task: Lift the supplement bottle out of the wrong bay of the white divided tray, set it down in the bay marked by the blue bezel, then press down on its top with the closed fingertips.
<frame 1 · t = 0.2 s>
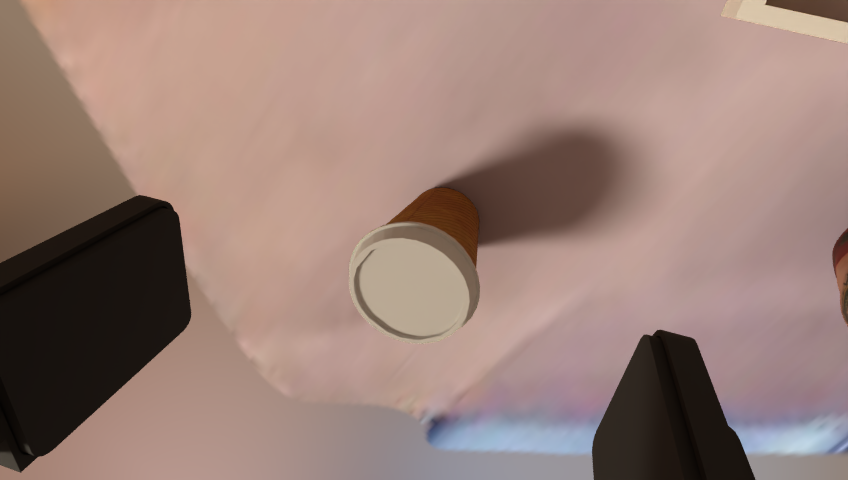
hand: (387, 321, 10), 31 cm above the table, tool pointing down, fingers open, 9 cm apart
disposable coffee cup: (444, 219, 43), on the table
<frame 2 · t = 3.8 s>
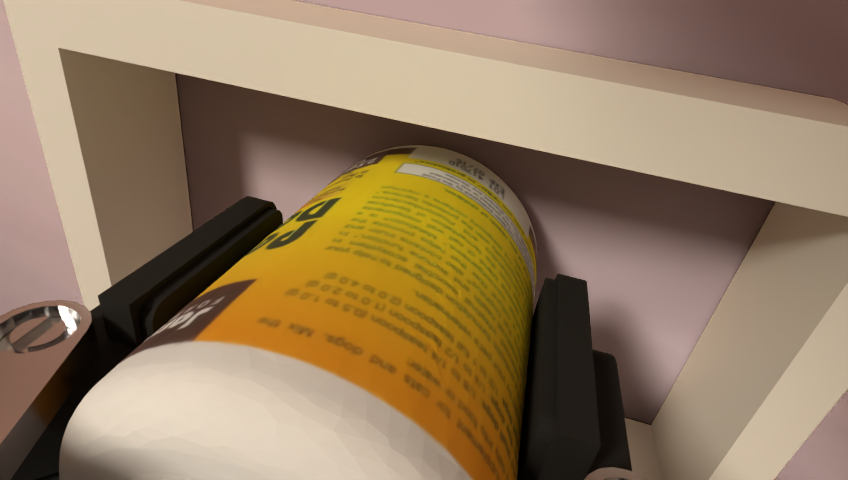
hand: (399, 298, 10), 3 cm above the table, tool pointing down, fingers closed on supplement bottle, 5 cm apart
white divided tray: (406, 370, 15), on the table
supplement bottle: (430, 240, 13), resting in white divided tray, touching gripper
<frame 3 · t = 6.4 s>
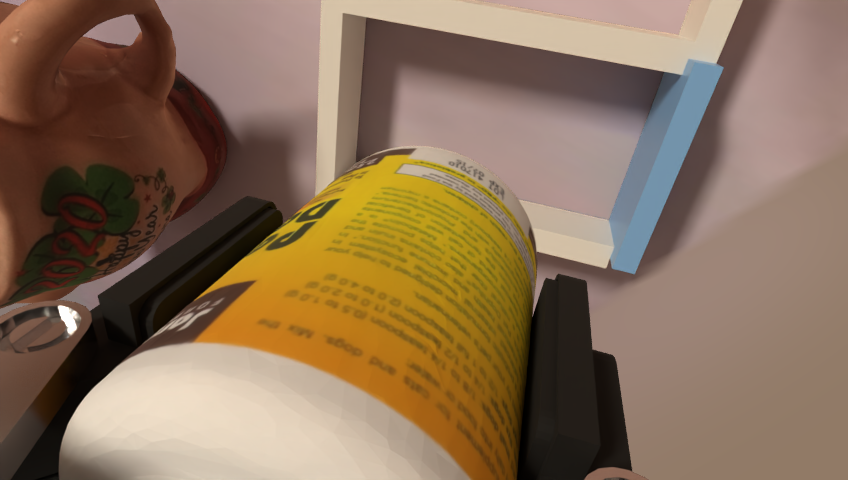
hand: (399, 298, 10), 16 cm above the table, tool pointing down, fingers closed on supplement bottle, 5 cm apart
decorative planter: (169, 110, 29), on the table
white divided tray: (513, 21, 22), on the table
supplement bottle: (430, 240, 13), point 13 cm above the table, touching gripper
when the fingers open (4 cm above the table, at t = 8.9 s): supplement bottle drops 1 cm, resting in white divided tray.
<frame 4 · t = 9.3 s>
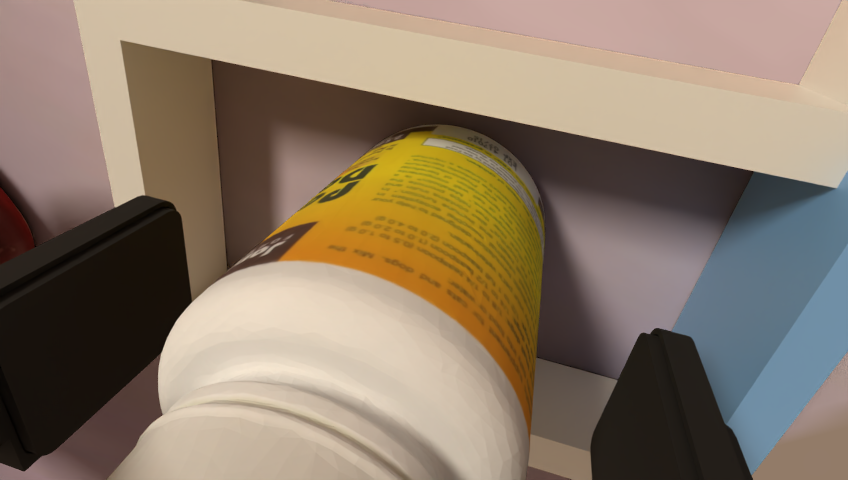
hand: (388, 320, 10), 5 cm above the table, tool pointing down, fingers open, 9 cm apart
white divided tray: (469, 53, 11), on the table
supplement bottle: (446, 213, 14), resting in white divided tray
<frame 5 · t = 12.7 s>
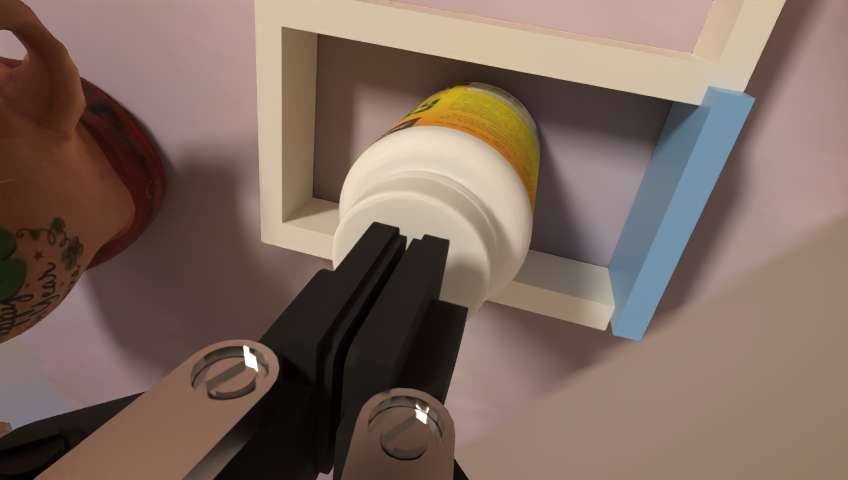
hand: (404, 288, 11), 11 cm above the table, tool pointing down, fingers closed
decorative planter: (98, 136, 25), on the table
white divided tray: (492, 36, 18), on the table
supplement bottle: (473, 146, 20), resting in white divided tray
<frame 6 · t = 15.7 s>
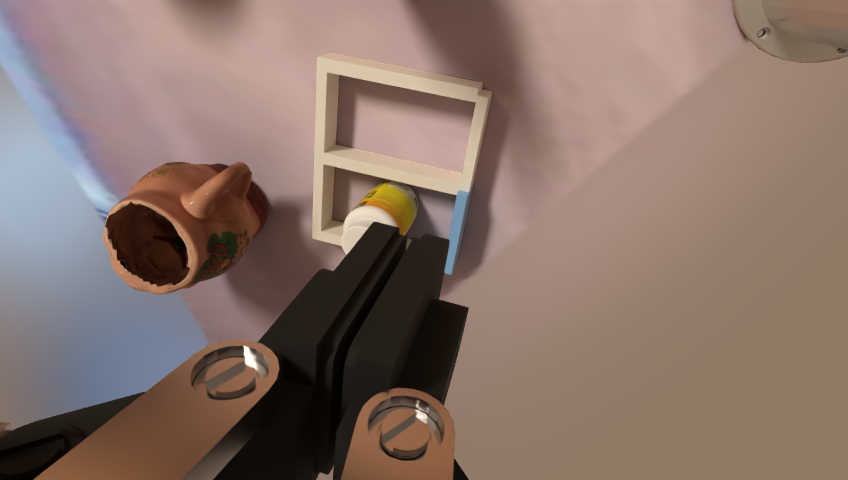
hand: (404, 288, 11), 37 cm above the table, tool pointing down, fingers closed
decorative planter: (238, 192, 57), on the table
white divided tray: (398, 164, 50), on the table
supplement bottle: (395, 201, 52), resting in white divided tray
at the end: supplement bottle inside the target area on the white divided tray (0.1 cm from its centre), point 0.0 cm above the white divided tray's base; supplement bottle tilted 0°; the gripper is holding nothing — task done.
